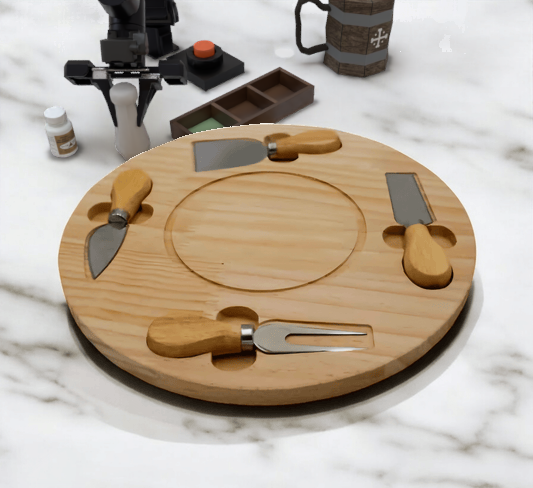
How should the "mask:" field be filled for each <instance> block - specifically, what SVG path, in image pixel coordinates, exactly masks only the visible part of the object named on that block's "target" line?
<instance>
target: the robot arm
mask: <svg viewBox="0 0 533 488" xmlns="http://www.w3.org/2000/svg"><path fill="white" fill-rule="evenodd" d="M97 1H98V3H99V5H100V6H101V8H102V9H103V10H104V12H105V13H106V14H107V15H108V29H107V33H106V38H104V39H100V40H99V46H100V47H99V48H100V57H101V62H102V63H105V64H106V65H108V66H96V65H95V63H93V61H91V60H90V59H68V60H67V61H66V62H65V63H64V66H63V78H64V79H66V80H67V81H68V82H70V83H71V84H72V85H73V86H77V87H78V86H79V87H80V86H91V87H92V86H93V87H94V88H96V89H97V90H98V91H100V92H101V93H102V96H103V98H104V100H105V102H106V105H107V109H108V112H109V114H110V115H109V116H110V118H111V120H112V123H113V126H114V128H115V127H118V126H117V118H116V111H115V104H114V103H113V102H112V101H111V98H110V89H111V88H112V86H113V85H115V84H114V80H116V79H117V80H121V79H122V80H127V79H128V80H130V79H132V80H133V79H134V80H137V79H138V99H137V106H138V108H137V126H138V127H141V125H142V122H144V119H145V117H146V114H147V112H148V110H149V107H150V104H151V102H152V101H153V99H154V97H155V95H156V94H157V92H158V91H163V89H164V88H163V85H162V81H163V80H164V83H166V84H167V85H168V86H187V85H188V80H187V69H186V67H185V65H184V63H183V62H182V61H181V60H166V59H160V58H164V57H165V56H167V55H168V56H169V55H170V54H173V53H174V52H178V51H179V50H180V46H179V45H177V44H176V43H175V42H174V38H173V32H172V27H175V25H176V23H177V24H178V23H179V22H180V16H179V9H178V5H177V3H176V1H175V0H97ZM146 56H148V57H150V58H151V59H152V60H158V62H157V66H155V65H154V66H149V65H147V66H146Z"/></svg>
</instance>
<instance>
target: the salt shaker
mask: <svg viewBox="0 0 533 488" xmlns="http://www.w3.org/2000/svg"><path fill="white" fill-rule="evenodd" d="M138 97H139V91H138V89H137V87H136V85H134V84H133V83H131V82H128V81H121V82H117V83H115V84H114V85H113V86H112V88H111V89H110V98H111V101H112V102H113V103H114V104H115V111H116V118H117V126H118V127H115V126H114V145H115V149H116V151H117V152H118V153H119V154H120V155H121V156H122V157H123V159H124V160H125V161H126V162H127V160H129V159H130V158H132V157H134V156H136V155H138V154H140V153H142V152H145V151H147V150H149V148H150V146H151V139H150V135H149V133H148V131H147V128H146V125H145V122H144V121H143V122H142V125H141V127H138V126H137V108H138V103H137V102H138ZM147 152H148V151H147Z"/></svg>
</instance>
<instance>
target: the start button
mask: <svg viewBox="0 0 533 488" xmlns="http://www.w3.org/2000/svg"><path fill="white" fill-rule="evenodd" d="M214 44H215V43H214V42H213V41H211V40H206V39H202V40H197V41H195V42H194V44H193V45H194V46H193V45H192V46H193V47H194V55H195V56H196V57H201V58H206V57H211V56H213V55H214V54H215V48H214Z"/></svg>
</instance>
